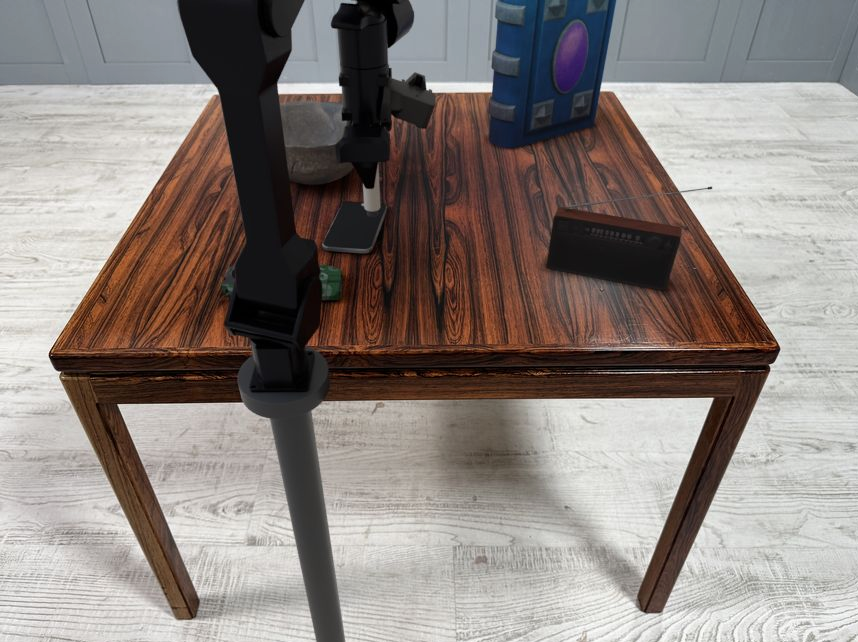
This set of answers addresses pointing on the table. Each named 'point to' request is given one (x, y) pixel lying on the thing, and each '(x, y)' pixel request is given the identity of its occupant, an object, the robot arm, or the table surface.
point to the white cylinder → (372, 197)
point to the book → (547, 68)
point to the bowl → (313, 141)
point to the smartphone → (354, 229)
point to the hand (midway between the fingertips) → (370, 184)
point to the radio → (613, 246)
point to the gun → (328, 277)
